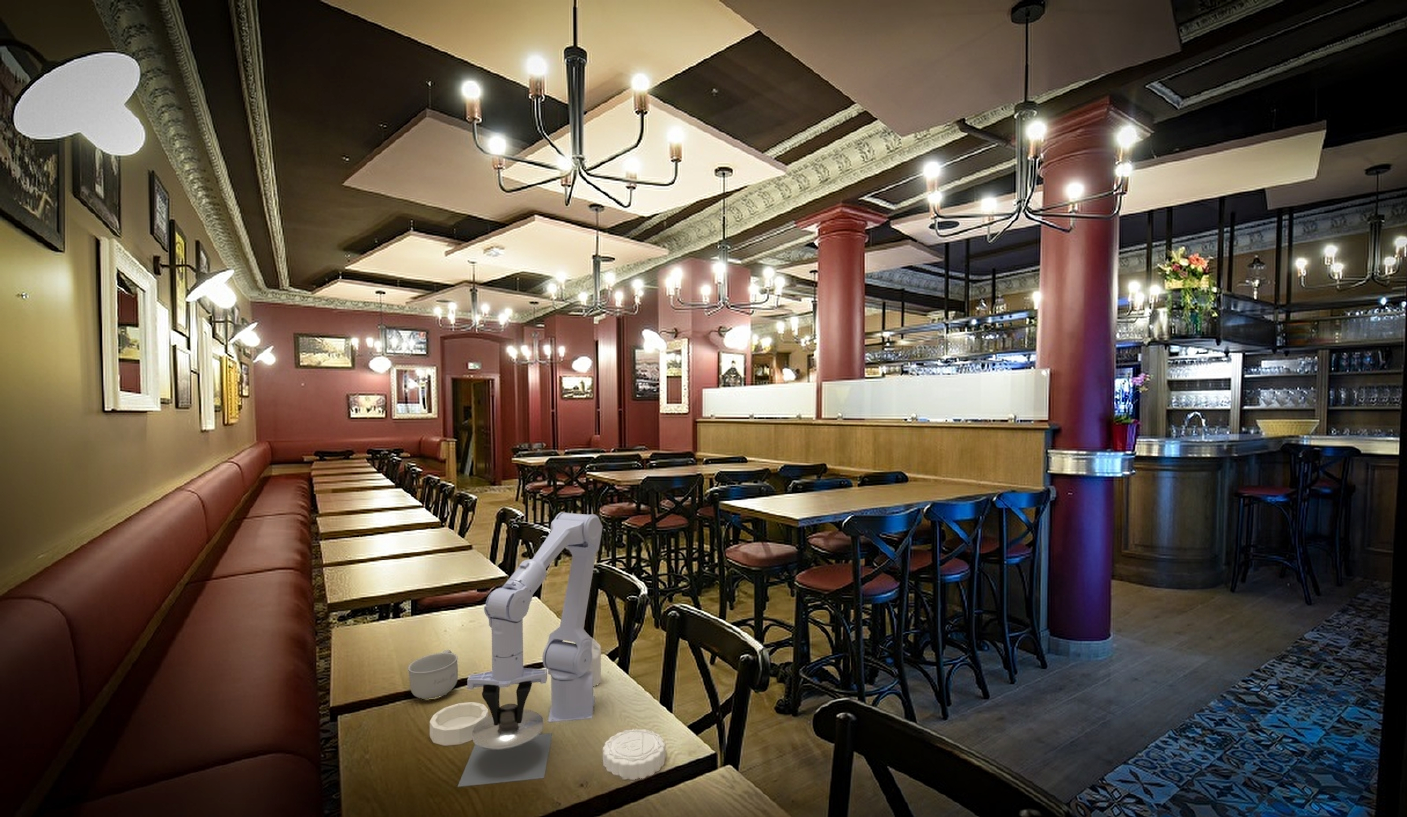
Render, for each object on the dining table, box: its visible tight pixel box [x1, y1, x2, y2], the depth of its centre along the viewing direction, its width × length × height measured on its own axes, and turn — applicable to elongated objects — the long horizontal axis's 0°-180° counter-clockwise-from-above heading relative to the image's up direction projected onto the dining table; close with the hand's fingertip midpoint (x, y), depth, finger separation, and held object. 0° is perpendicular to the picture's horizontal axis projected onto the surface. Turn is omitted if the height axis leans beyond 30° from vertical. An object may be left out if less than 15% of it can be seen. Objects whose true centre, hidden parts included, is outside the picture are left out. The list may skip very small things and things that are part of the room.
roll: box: [588, 636, 602, 687], centre depth 145 cm, size 6×12×6 cm
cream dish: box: [429, 701, 489, 747], centre depth 123 cm, size 11×11×4 cm
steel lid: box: [472, 703, 544, 750], centre depth 113 cm, size 13×13×4 cm
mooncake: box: [602, 728, 666, 781], centre depth 112 cm, size 12×12×4 cm
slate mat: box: [457, 732, 554, 788], centre depth 113 cm, size 15×15×1 cm
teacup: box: [407, 649, 459, 700], centre depth 141 cm, size 14×11×8 cm
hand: (508, 721), depth 113 cm, fingers closed on steel lid, 4 cm apart
